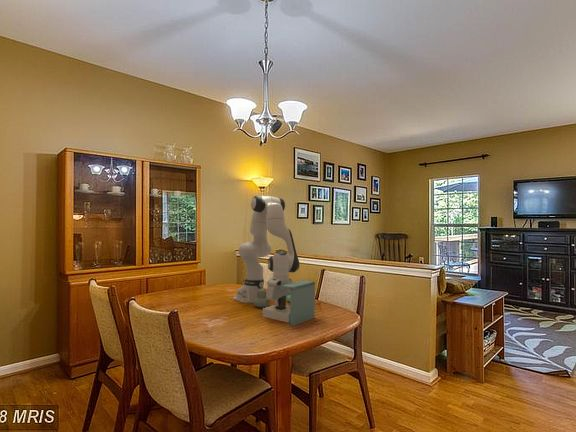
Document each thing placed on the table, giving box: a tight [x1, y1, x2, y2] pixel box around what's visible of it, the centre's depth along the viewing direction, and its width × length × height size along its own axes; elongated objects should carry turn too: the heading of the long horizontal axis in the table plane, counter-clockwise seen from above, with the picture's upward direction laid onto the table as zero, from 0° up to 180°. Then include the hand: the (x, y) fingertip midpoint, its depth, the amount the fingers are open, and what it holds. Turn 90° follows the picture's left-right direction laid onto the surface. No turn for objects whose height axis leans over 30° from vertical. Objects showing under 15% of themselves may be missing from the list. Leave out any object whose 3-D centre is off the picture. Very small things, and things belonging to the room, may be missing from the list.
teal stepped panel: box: [281, 280, 316, 327], centre depth 184 cm, size 8×20×20 cm, turn 143°
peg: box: [276, 296, 287, 310], centre depth 191 cm, size 4×4×9 cm
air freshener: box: [252, 289, 271, 309], centre depth 212 cm, size 11×8×10 cm
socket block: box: [262, 304, 290, 324], centre depth 190 cm, size 18×14×4 cm
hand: (280, 305), depth 191 cm, fingers open, 4 cm apart
